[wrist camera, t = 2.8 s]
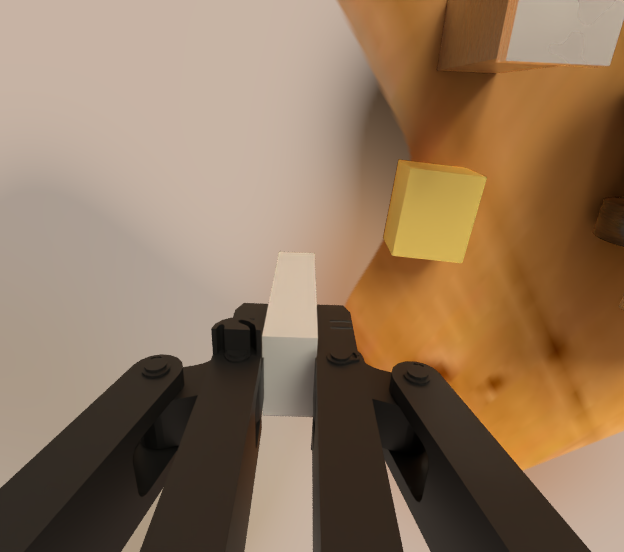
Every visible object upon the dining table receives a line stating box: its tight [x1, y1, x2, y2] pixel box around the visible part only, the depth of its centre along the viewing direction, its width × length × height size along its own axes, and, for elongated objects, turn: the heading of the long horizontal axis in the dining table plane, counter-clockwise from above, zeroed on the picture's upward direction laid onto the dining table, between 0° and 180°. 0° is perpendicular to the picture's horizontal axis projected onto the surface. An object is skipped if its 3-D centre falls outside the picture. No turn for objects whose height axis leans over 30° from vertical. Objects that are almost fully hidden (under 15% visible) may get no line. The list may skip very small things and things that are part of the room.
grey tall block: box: [437, 0, 624, 73], centre depth 21 cm, size 4×4×11 cm
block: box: [383, 159, 487, 263], centre depth 29 cm, size 6×5×4 cm
